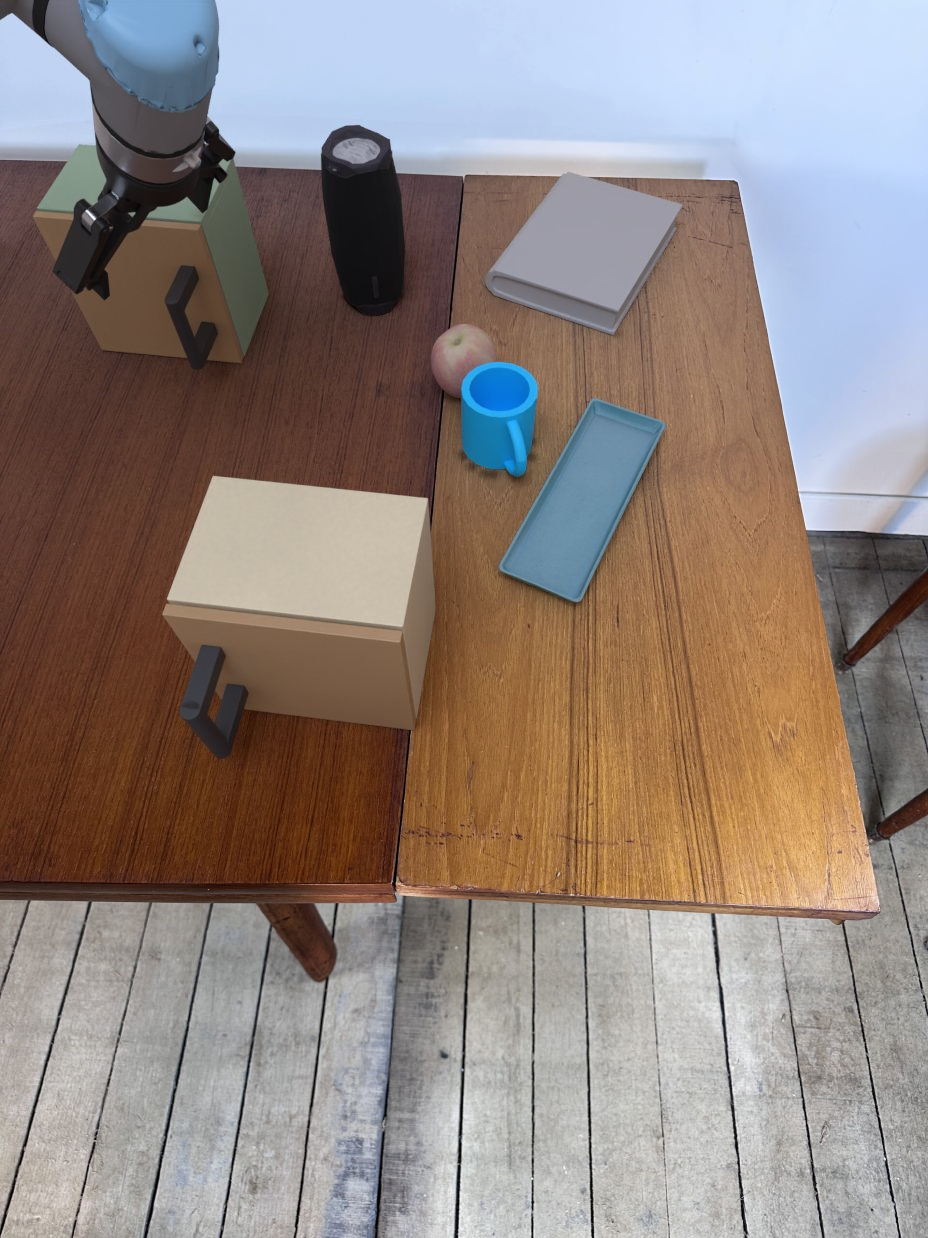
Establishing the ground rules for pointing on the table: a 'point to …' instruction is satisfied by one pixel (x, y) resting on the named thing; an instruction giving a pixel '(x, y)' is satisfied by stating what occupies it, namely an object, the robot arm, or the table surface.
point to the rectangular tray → (582, 501)
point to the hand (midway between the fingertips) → (146, 242)
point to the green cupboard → (219, 223)
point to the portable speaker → (364, 217)
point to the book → (585, 252)
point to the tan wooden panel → (156, 293)
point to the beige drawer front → (288, 671)
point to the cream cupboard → (314, 559)
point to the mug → (498, 416)
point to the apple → (460, 356)
